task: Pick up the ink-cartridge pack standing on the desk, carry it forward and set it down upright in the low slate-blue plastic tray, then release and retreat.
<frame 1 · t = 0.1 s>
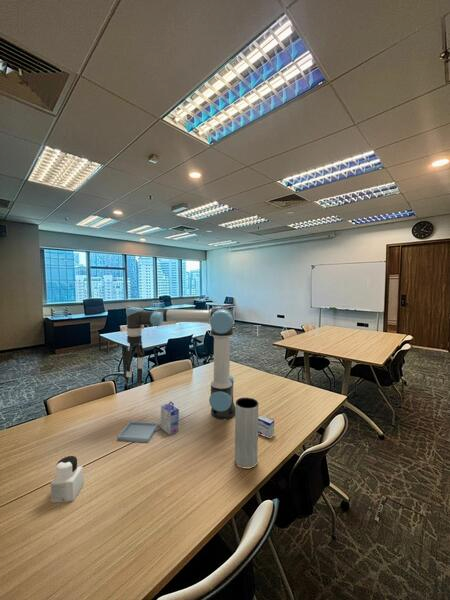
hand: (134, 372, 142), 28 cm above the table, fingers open, 13 cm apart
ink cartridge box: (169, 429, 136), on the table
box: (265, 435, 132), on the table
tray: (138, 433, 132), on the table
vase: (245, 461, 112), on the table
container: (67, 493, 94), on the table
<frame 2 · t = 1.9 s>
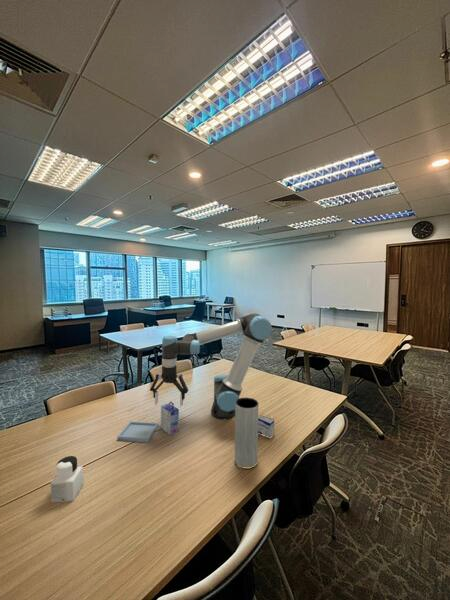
hand: (169, 404, 135), 14 cm above the table, fingers open, 13 cm apart
nothing on the table moved.
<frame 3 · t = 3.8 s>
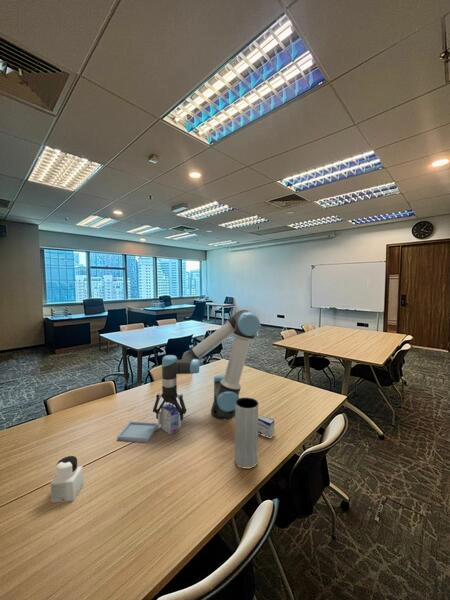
hand: (169, 425, 136), 2 cm above the table, fingers closed on ink cartridge box, 10 cm apart
ink cartridge box: (169, 429, 136), on the table, touching gripper
everything else where it was.
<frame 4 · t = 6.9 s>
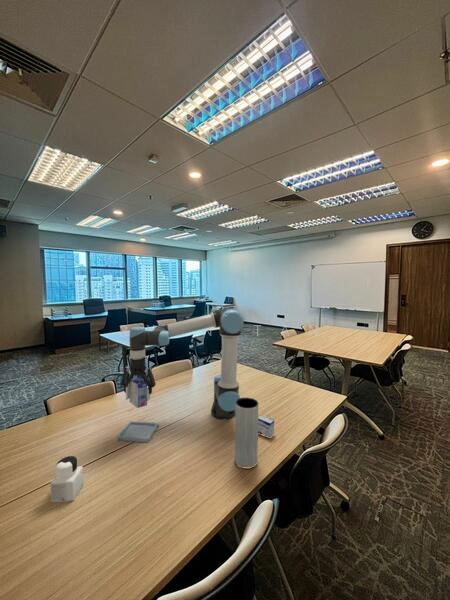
hand: (138, 399, 131), 18 cm above the table, fingers closed on ink cartridge box, 10 cm apart
ink cartridge box: (138, 404, 131), point 16 cm above the table, touching gripper
everything else where it was.
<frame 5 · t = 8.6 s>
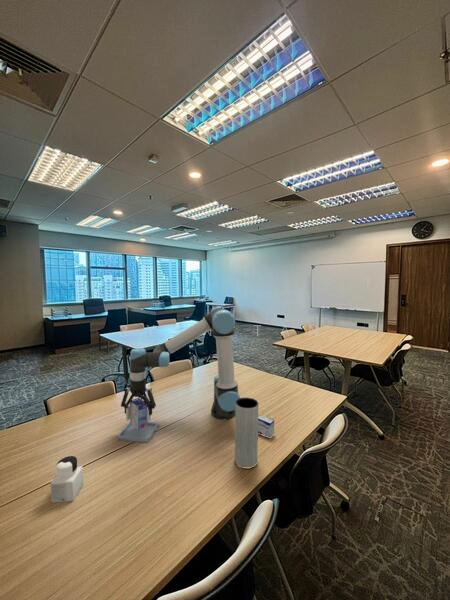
hand: (138, 420, 132), 7 cm above the table, fingers closed on ink cartridge box, 10 cm apart
ink cartridge box: (138, 424, 132), point 4 cm above the table, touching gripper
everything else where it was.
when the fingers open (5 cm above the table, at t = 10.2 s): ink cartridge box drops 2 cm, resting on tray.
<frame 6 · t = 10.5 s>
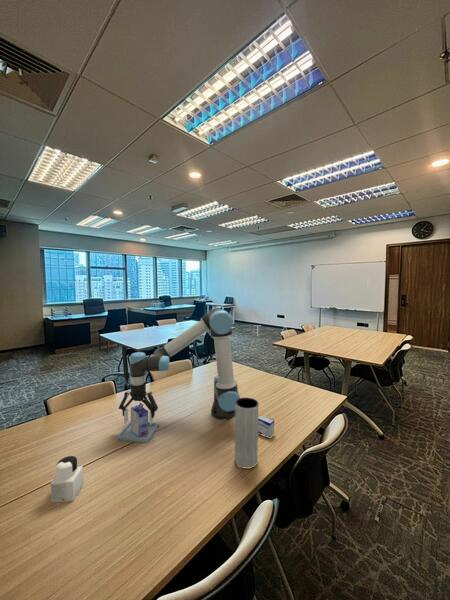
hand: (138, 422, 132), 6 cm above the table, fingers open, 13 cm apart
ink cartridge box: (139, 432, 132), point 1 cm above the table, touching tray
everything else where it was.
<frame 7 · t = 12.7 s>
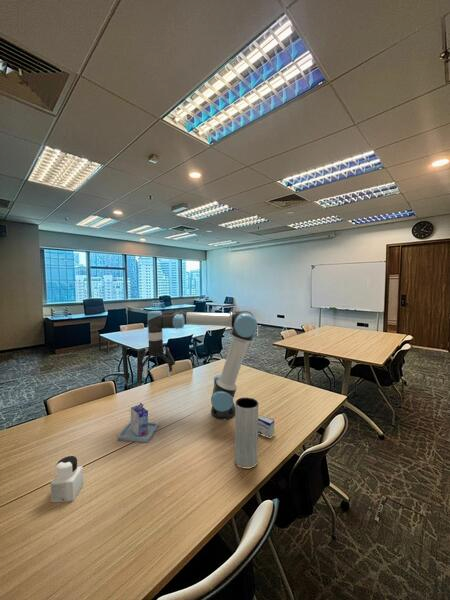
hand: (157, 377, 139), 26 cm above the table, fingers open, 13 cm apart
nothing on the table moved.
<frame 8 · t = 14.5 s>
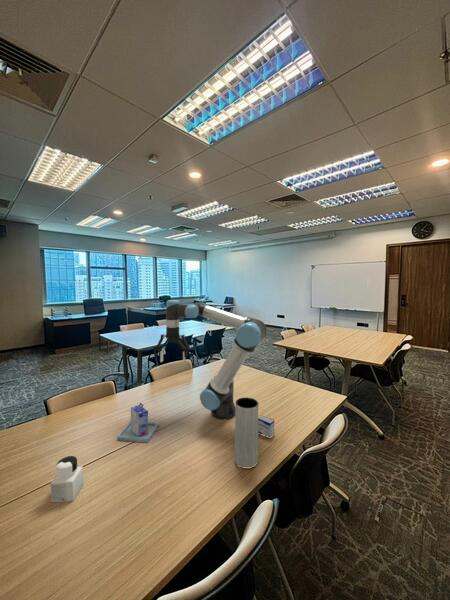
hand: (172, 362, 150), 32 cm above the table, fingers open, 13 cm apart
nothing on the table moved.
at the end: ink cartridge box inside the target area on the tray (0.3 cm from its centre), point 0.6 cm above the tray's base; ink cartridge box tilted 0°; the gripper is holding nothing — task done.
